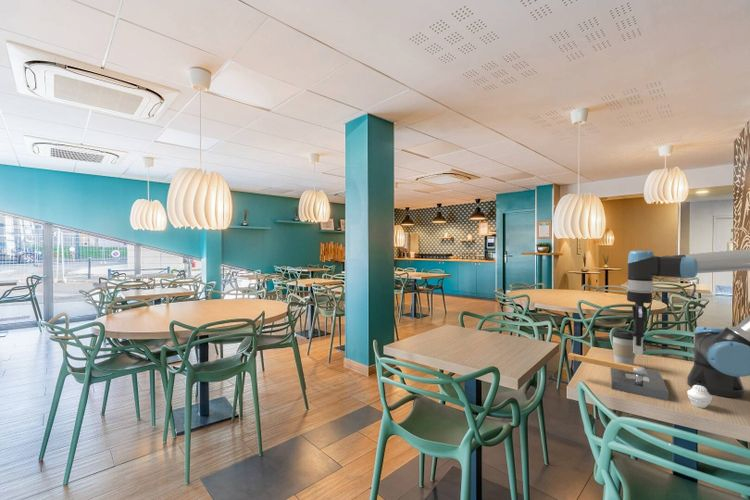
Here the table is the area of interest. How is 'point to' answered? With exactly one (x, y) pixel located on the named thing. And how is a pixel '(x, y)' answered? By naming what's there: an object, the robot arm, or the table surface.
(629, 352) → the coffee cup
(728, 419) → the table surface
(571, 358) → the swing arm
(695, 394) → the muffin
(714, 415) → the table surface
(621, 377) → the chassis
